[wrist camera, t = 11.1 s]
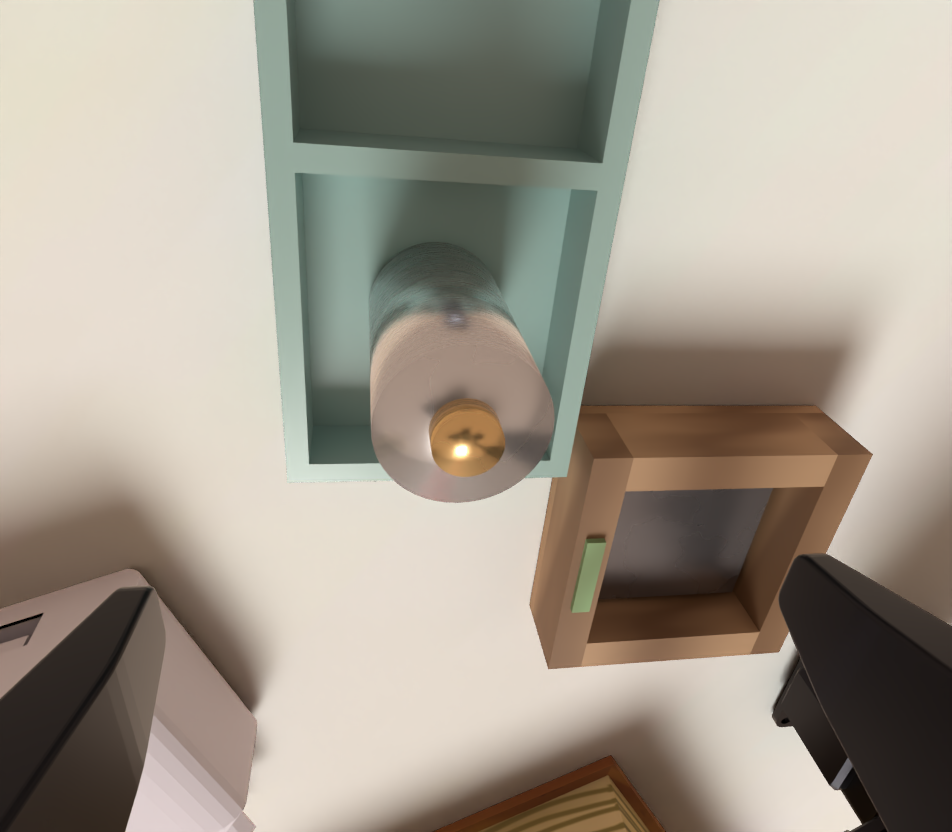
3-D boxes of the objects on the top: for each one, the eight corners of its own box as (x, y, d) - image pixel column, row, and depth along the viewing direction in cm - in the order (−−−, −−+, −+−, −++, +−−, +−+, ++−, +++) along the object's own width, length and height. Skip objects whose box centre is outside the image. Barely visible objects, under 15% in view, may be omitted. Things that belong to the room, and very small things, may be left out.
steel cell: (491, 365, 19) (547, 519, 14) (368, 363, 19) (370, 523, 13) (505, 245, 18) (576, 361, 12) (369, 238, 17) (372, 358, 11)
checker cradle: (815, 405, 23) (877, 457, 20) (739, 593, 27) (781, 656, 25) (565, 405, 21) (596, 462, 19) (529, 604, 26) (549, 673, 23)
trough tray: (668, -296, 13) (728, -354, 11) (546, 432, 22) (566, 477, 20) (245, -380, 12) (220, -467, 10) (294, 433, 20) (287, 482, 18)
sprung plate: (770, 450, 23) (782, 463, 22) (722, 576, 26) (732, 591, 25) (606, 452, 22) (614, 466, 21) (576, 584, 25) (582, 600, 24)
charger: (129, 842, 30) (-114, 639, 22) (319, 783, 30) (145, 557, 22) (93, 968, 26) (-217, 776, 18) (313, 901, 26) (98, 677, 18)
